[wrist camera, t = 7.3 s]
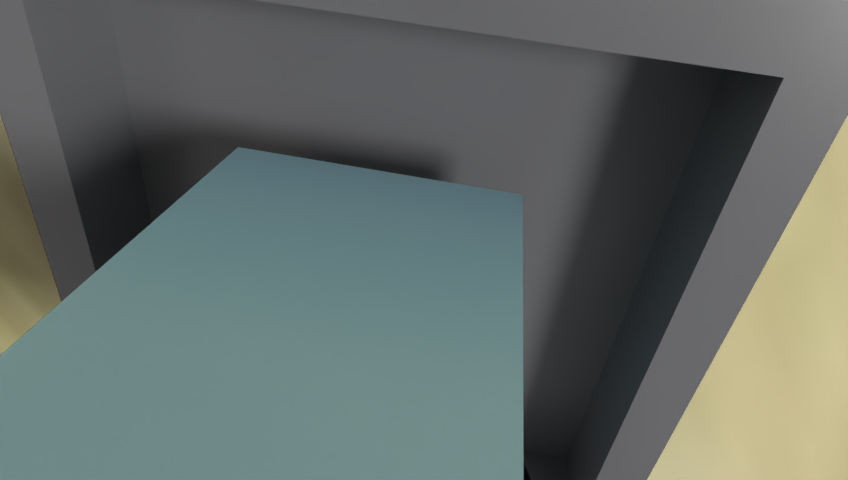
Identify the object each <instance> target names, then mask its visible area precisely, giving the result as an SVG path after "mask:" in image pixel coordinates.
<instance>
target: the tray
mask: <svg viewBox="0 0 848 480" xmlns="http://www.w3.org/2000/svg"><path fill="white" fill-rule="evenodd" d="M0 113H1V116H2V120H3V123H4V126H5V129H6V132H7V135H8V138H9V141H10V144H11V147H12V150H13V153H14V156H15V160H16V163H17V166H18V169H19V172H20V175H21V178H22V181H23V184H24V187H25V190H26V193H27V196H28V200H29V203H30V206H31V209H32V212H33V215H34V218H35V221H36V224H37V227H38V230H39V233H40V236H41V240H42V243H43V246H44V249H45V252H46V255H47V258H48V261H49V264H50V267H51V270H52V273H53V276H54V280H55V283H56V286H57V289H58V292H59V295H60V298H61V301H63V300H64V299H65V298H66V297H68V296H69V295H70V294H71V293H72V292H73V291H74V290H76V289H77V288H78V287H79V286H80V285H81V284H82V283H84V282H85V281H86V280H87V279H88V278H89V277H90V276H91V275H93V274H94V273H95V272H96V271H97V270H98V269H99V268H101V267H102V266H103V265H104V264H105V263H106V262H107V261H109V260H110V259H111V258H112V257H113V256H114V255H115V254H117V253H118V252H119V251H120V250H121V249H122V248H123V247H125V246H126V245H127V244H128V243H129V242H130V241H131V240H133V239H134V238H135V237H136V236H137V235H138V234H139V233H141V232H142V231H143V230H144V229H145V228H146V227H147V226H149V225H150V224H151V223H152V222H153V221H154V220H155V219H157V218H158V217H159V216H160V215H161V214H162V213H163V212H165V211H166V210H167V209H168V208H169V207H170V206H171V205H173V204H174V203H175V202H176V201H177V200H178V199H179V198H181V197H182V196H183V195H184V194H185V193H186V192H187V191H189V190H190V189H191V188H192V187H193V186H194V185H195V184H197V183H198V182H199V181H200V180H201V179H202V178H203V177H205V176H206V175H207V174H208V173H209V172H210V171H211V170H213V169H214V168H215V167H216V166H217V165H218V164H219V163H221V162H222V161H223V160H224V159H225V158H226V157H227V156H229V155H230V154H231V153H232V152H233V151H234V150H235V149H237V148H238V147H241V148H247V149H253V150H259V151H265V152H271V153H277V154H283V155H289V156H295V157H301V158H307V159H313V160H319V161H325V162H331V163H337V164H342V165H348V166H354V167H360V168H366V169H372V170H378V171H384V172H390V173H396V174H402V175H408V176H414V177H420V178H426V179H432V180H438V181H444V182H450V183H456V184H462V185H468V186H474V187H480V188H486V189H492V190H498V191H504V192H510V193H516V194H522V195H523V456H524V462H525V464H526V466H527V469H528V471H529V474H530V476H531V478H532V480H647V478H648V477H649V475H650V473H651V471H652V469H653V468H654V466H655V464H656V462H657V460H658V458H659V457H660V455H661V453H662V451H663V449H664V448H665V446H666V444H667V442H668V440H669V439H670V437H671V435H672V433H673V431H674V429H675V428H676V426H677V424H678V422H679V420H680V419H681V417H682V415H683V413H684V411H685V409H686V408H687V406H688V404H689V402H690V400H691V399H692V397H693V395H694V393H695V391H696V389H697V388H698V386H699V384H700V382H701V380H702V379H703V377H704V375H705V373H706V371H707V369H708V368H709V366H710V364H711V362H712V360H713V359H714V357H715V355H716V353H717V351H718V350H719V348H720V346H721V344H722V342H723V340H724V339H725V337H726V335H727V333H728V331H729V330H730V328H731V326H732V324H733V322H734V320H735V319H736V317H737V315H738V313H739V311H740V310H741V308H742V306H743V304H744V302H745V300H746V299H747V297H748V295H749V293H750V291H751V290H752V288H753V286H754V284H755V282H756V281H757V279H758V277H759V275H760V273H761V271H762V270H763V268H764V266H765V264H766V262H767V261H768V259H769V257H770V255H771V253H772V251H773V250H774V248H775V246H776V244H777V242H778V241H779V239H780V237H781V235H782V233H783V231H784V230H785V228H786V226H787V224H788V222H789V221H790V219H791V217H792V215H793V213H794V211H795V210H796V208H797V206H798V204H799V202H800V201H801V199H802V197H803V195H804V193H805V192H806V190H807V188H808V186H809V184H810V182H811V181H812V179H813V177H814V175H815V173H816V172H817V170H818V168H819V166H820V164H821V162H822V161H823V159H824V157H825V155H826V153H827V152H828V150H829V148H830V146H831V144H832V142H833V141H834V139H835V137H836V135H837V133H838V132H839V130H840V128H841V126H842V124H843V122H844V121H845V119H846V117H847V115H848V0H0Z"/></svg>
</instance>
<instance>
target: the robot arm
mask: <svg viewBox="0 0 848 480" xmlns="http://www.w3.org/2000/svg"><path fill="white" fill-rule="evenodd" d="M524 480H532V478H531V476H530V474H529V471H528V469H527V466H526V464H525V462H524Z"/></svg>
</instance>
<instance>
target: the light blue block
mask: <svg viewBox="0 0 848 480" xmlns="http://www.w3.org/2000/svg"><path fill="white" fill-rule="evenodd" d="M0 480H524V456H523V195H522V194H516V193H510V192H504V191H498V190H492V189H486V188H480V187H474V186H468V185H462V184H456V183H450V182H444V181H438V180H432V179H426V178H420V177H414V176H408V175H402V174H396V173H390V172H384V171H378V170H372V169H366V168H360V167H354V166H348V165H342V164H337V163H331V162H325V161H319V160H313V159H307V158H301V157H295V156H289V155H283V154H277V153H271V152H265V151H259V150H253V149H247V148H241V147H238V148H237V149H235V150H234V151H233V152H232V153H231V154H230V155H229V156H227V157H226V158H225V159H224V160H223V161H222V162H221V163H219V164H218V165H217V166H216V167H215V168H214V169H213V170H211V171H210V172H209V173H208V174H207V175H206V176H205V177H203V178H202V179H201V180H200V181H199V182H198V183H197V184H195V185H194V186H193V187H192V188H191V189H190V190H189V191H187V192H186V193H185V194H184V195H183V196H182V197H181V198H179V199H178V200H177V201H176V202H175V203H174V204H173V205H171V206H170V207H169V208H168V209H167V210H166V211H165V212H163V213H162V214H161V215H160V216H159V217H158V218H157V219H155V220H154V221H153V222H152V223H151V224H150V225H149V226H147V227H146V228H145V229H144V230H143V231H142V232H141V233H139V234H138V235H137V236H136V237H135V238H134V239H133V240H131V241H130V242H129V243H128V244H127V245H126V246H125V247H123V248H122V249H121V250H120V251H119V252H118V253H117V254H115V255H114V256H113V257H112V258H111V259H110V260H109V261H107V262H106V263H105V264H104V265H103V266H102V267H101V268H99V269H98V270H97V271H96V272H95V273H94V274H93V275H91V276H90V277H89V278H88V279H87V280H86V281H85V282H84V283H82V284H81V285H80V286H79V287H78V288H77V289H76V290H74V291H73V292H72V293H71V294H70V295H69V296H68V297H66V298H65V299H64V300H63V301H62V302H61V303H60V304H58V305H57V306H56V307H55V308H54V309H53V310H52V311H50V312H49V313H48V314H47V315H46V316H45V317H44V318H42V319H41V320H40V321H39V322H38V323H37V324H36V325H34V326H33V327H32V328H31V329H30V330H29V331H28V332H26V333H25V334H24V335H23V336H22V337H21V338H20V339H18V340H17V341H16V342H15V343H14V344H13V345H12V346H10V347H9V348H8V349H7V350H6V351H5V352H4V353H2V354H1V355H0Z"/></svg>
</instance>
